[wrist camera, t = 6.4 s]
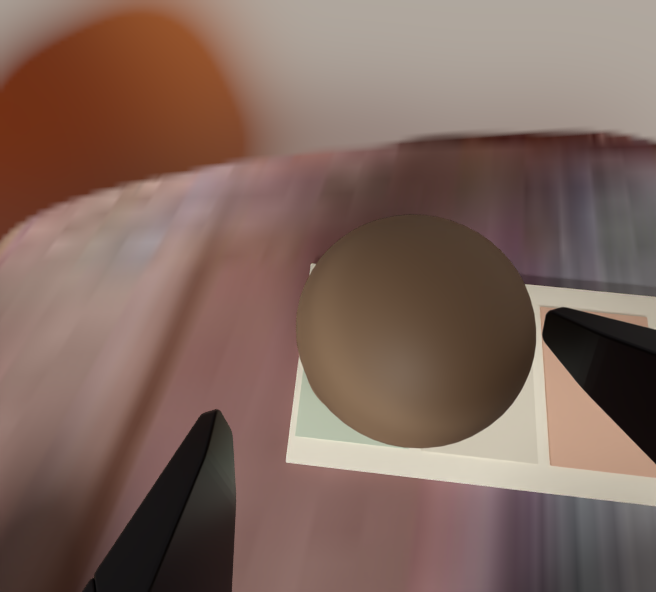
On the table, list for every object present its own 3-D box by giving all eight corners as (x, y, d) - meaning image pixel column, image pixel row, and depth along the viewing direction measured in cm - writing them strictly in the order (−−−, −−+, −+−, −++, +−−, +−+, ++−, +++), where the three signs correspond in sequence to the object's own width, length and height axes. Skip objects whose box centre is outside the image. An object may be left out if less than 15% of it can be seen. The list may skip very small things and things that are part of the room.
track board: (287, 459, 16) (285, 462, 15) (311, 267, 18) (310, 262, 17) (800, 519, 15) (822, 526, 14) (750, 310, 17) (767, 307, 17)
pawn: (332, 434, 15) (338, 653, 3) (290, 335, 16) (175, 206, 4) (428, 388, 16) (765, 415, 4) (381, 295, 17) (509, 77, 5)
